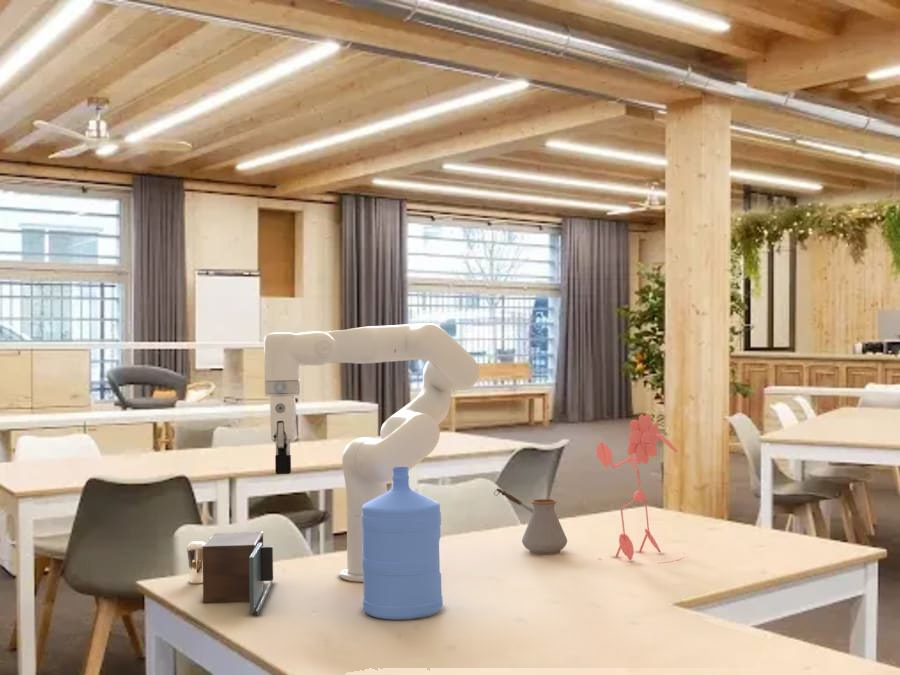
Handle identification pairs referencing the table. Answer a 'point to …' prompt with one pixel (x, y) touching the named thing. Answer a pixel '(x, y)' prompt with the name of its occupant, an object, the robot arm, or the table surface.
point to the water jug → (401, 553)
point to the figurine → (642, 446)
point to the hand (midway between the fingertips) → (283, 473)
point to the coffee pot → (541, 527)
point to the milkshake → (195, 561)
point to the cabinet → (229, 567)
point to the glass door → (259, 572)
